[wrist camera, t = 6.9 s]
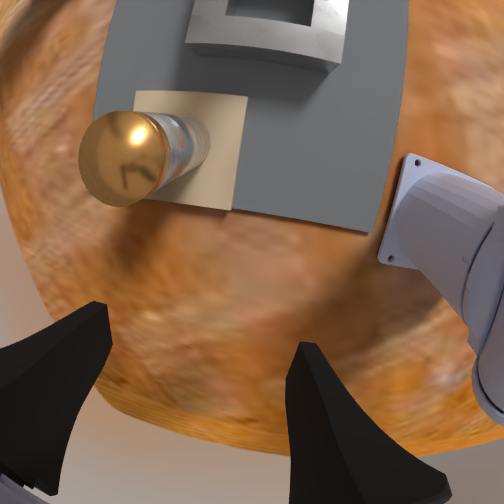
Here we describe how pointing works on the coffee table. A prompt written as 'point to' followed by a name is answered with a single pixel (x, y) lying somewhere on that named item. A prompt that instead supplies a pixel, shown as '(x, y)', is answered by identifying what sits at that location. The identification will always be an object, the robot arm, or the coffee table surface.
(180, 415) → the coffee table surface
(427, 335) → the coffee table surface
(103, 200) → the gold capped metal cylinder
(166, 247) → the coffee table surface
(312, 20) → the block
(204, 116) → the cork pad
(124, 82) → the mat
